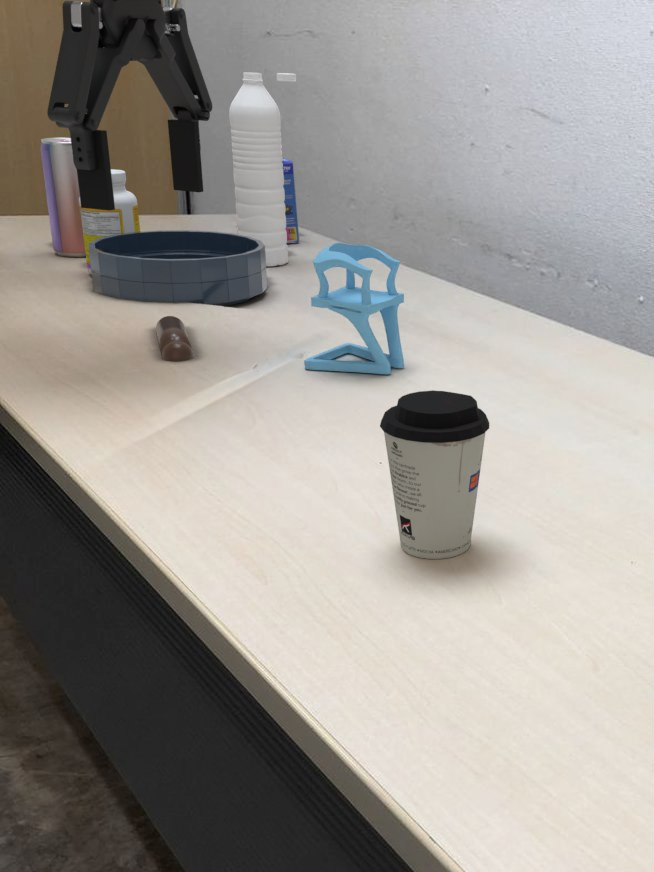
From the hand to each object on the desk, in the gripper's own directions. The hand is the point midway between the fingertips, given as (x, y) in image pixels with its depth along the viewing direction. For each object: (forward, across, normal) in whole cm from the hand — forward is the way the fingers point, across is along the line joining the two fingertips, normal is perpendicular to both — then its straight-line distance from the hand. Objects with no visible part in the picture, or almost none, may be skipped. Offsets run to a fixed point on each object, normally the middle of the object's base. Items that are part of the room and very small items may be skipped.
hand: (146, 199), depth 102 cm
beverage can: (+16, +42, +40) cm, 61 cm away
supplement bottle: (+16, +33, +28) cm, 47 cm away
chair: (+16, +8, -17) cm, 25 cm away
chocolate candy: (+16, +4, +1) cm, 16 cm away
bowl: (+16, +28, +15) cm, 35 cm away
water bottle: (+16, +50, +15) cm, 54 cm away
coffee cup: (+16, -29, -39) cm, 51 cm away
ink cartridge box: (+16, +65, +24) cm, 72 cm away
